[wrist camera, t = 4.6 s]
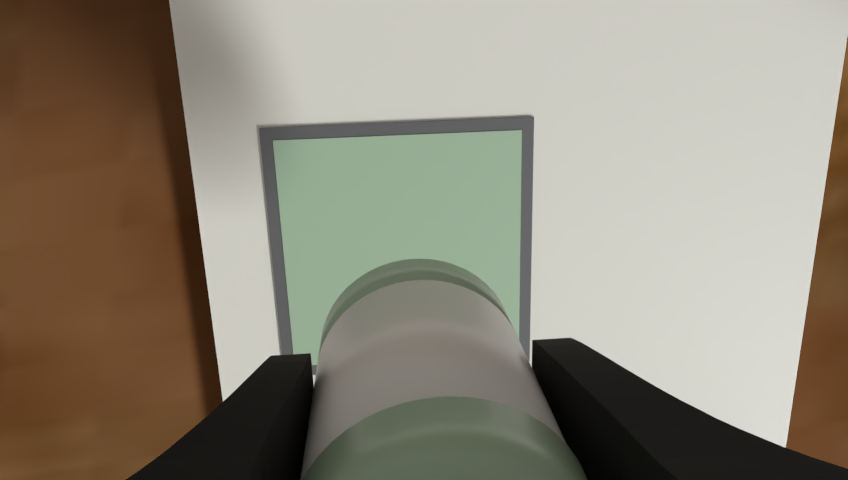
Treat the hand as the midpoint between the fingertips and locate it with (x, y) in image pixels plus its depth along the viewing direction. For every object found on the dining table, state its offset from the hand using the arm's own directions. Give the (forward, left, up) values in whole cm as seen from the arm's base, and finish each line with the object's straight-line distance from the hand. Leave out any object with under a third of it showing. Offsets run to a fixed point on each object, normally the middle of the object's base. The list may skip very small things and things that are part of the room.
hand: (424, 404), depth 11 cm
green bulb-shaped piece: (0, 0, -2) cm, 2 cm away
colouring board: (-3, +3, -8) cm, 9 cm away
